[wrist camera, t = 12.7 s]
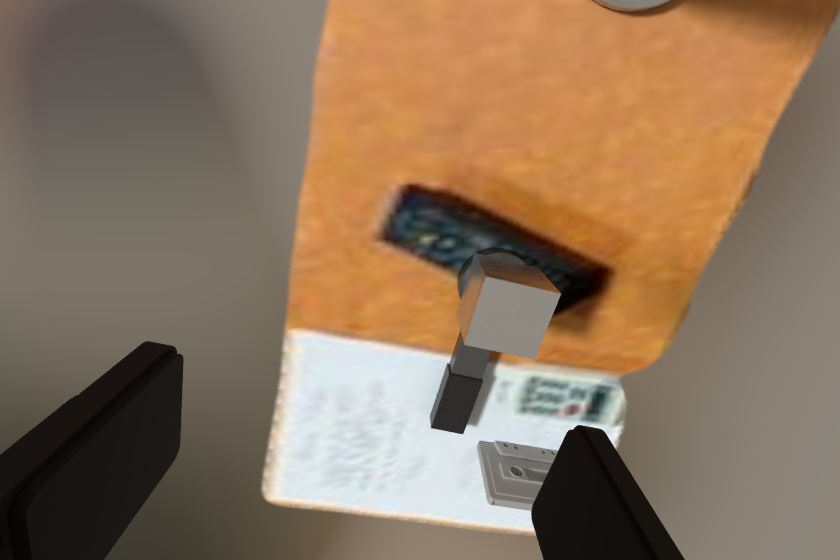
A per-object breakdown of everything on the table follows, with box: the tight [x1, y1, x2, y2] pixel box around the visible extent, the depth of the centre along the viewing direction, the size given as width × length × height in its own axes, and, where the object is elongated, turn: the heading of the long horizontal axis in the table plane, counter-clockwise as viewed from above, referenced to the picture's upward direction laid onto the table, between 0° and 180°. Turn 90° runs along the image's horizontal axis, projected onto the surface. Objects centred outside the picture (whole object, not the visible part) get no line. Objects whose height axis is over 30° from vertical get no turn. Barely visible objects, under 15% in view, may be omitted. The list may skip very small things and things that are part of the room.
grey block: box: [457, 253, 561, 359], centre depth 34 cm, size 6×6×6 cm
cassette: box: [477, 441, 558, 511], centre depth 43 cm, size 12×2×8 cm, turn 78°
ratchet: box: [430, 248, 527, 434], centre depth 38 cm, size 20×7×6 cm, turn 165°
